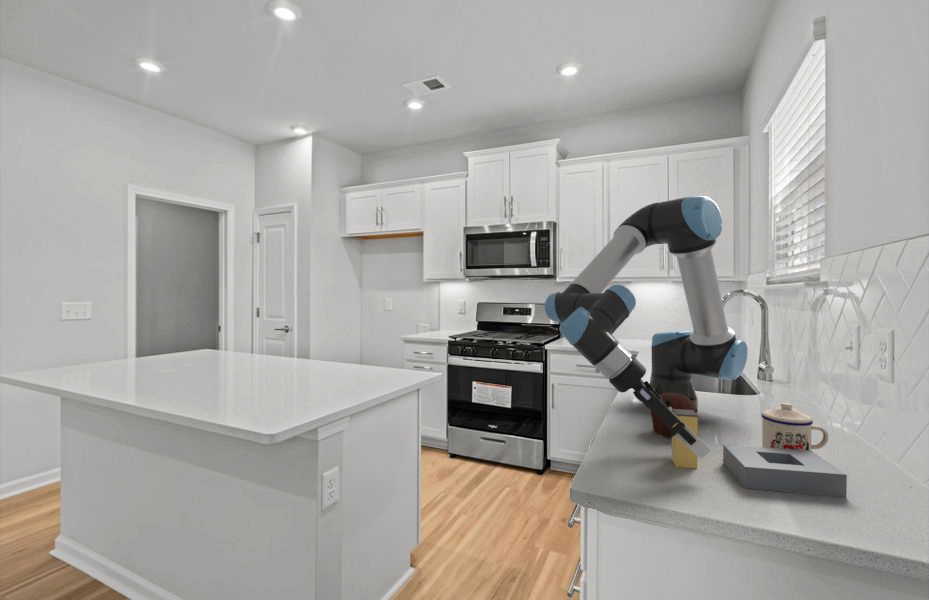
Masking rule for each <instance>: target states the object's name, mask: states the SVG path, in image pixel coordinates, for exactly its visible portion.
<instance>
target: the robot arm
mask: <svg viewBox="0 0 929 600" xmlns="http://www.w3.org/2000/svg"><path fill="white" fill-rule="evenodd" d="M722 225H723V218H722V213H721V210H720V208H719V207H718V204H717V203H716V202H715V200H713V199H711V198H710V197H708V196H706V195H697V196H686V197H681V198H675V199H672V200H666V201H660V202H653V203H650V204H648V205H645V206H643V207H641V208H639V209H637V210H636V211H635V212H634V213H632V214H631V215H629V216H628V217H626V219H625V220H623V222H622V223H621V224H619V226H618V227H617V228H616V229H615V230H614V232H613V237H612V238H611V240H609V241H608V243H607V244H606V245H604V247H603V248H602V249H601V250H600V251H599V253H598V254H597V255H595V257H594V258H593V259H592V260H591V261H590V263H588V264H587V265H586V266H585V268H584V269H583V270H581V272H580V273H579V274H578V275H577V276H576V277H575V278H574V280H572V281H571V283H569V285H568V286H567V287H566V288H565V289H564V290H563V291H562V292H560V291H558V292H554V293H551V294H549V295H548V296H547V298H546V299H545V302H544V312H545V314H546V317H547V318H548V319H549V320H551V321H553V322H557V323H561V324H560V326H559V328H558V329H559V332H560V333H561V335H562V336H563V338H565V340H566V341H568V343H569V345H571V346H572V347H573V348H575V350H576V351H578V352H579V353H580V354H581V355H582V356H583V358H585V359H586V360H587V361H588V362H589V363H590V364H591V365H592V366H593V368H594V372H595V373H596V374H598V373H601V375H602V376H603V377H604V378H605V379H608V381H609V383H610V385H612V386H613V387H614V389H616V390H617V391H618V392H619V393H626V392H628V391H629V390H630V389H632V390H633V392H632V394H633V395H634V397H635V398H636V399H637V400H638V401H640V402H641V403H642V404H643V405H644V406H645V407H646V408H647V409H648V410H650V411H651V410H652V411H653V412H654V413H655V414H656V415H657V416H658V417H659V418H660V419H661V420H662V421H663V422H664V424H665V425H666V426H667V427H668V428H669V429H670V430H671V431H672V432H671V433H670V435H671V436H672V437H674V436H675V435H676V436H677V437H678V438H679V439H680V440H681V441H682V442H683V443H684V444H685V445H686V446H687V447H688V448H689V449H690V450H691V451H692V452H694V453H695V454H696V455H697V458H699V460H702V459H703V458H704V457H705V456H707V455H708V454H709V453H710V452H711V451H712V449H711V448H710V447H709V446H708V445H707V444H706V443H705V442H704V441H703V440H702V439H701V438H699V436H698V437H697V436H696V435H695V434H694V433H693V432H692V431H691V430H690V429H689V428H688V427H687V426H686V425H685V424H684V423H683V422H681V421H680V420H679V419H678V418H677V417H676V416H675V415H674V414H673V413H672V408H671V407H668V406H669V405H670V404H671V403H670V402H669V401H668V400H667V401H666V402H664V400H663V399H662V398H661V397H660V396H659V395H660V394H663V393H678V394H682V395H684V396H686V397H688V398H689V399H690V400H692V402H693V403H694V405H695V406H696V408H697V409H698V406H699V400H698V399H699V398H698V396H697V392H696V390H695V387H694V383H693V379H692V377H693V375H695V376H701V377H702V376H703V377H707V378H714V379H718V380H731V381H732V380H736V379H738V378H739V377H740V376H741V375H742V374H743V372H744V369H745V368H746V364H747V361H748V346H747V343H746V341H744V340H742V339H739V338H738V339H737V337H736V333H735V330H734V329H733V328H732V327H730V326H728V324H727V319H726V314H725V310H724V305H723V300H722V294H721V291H720V285H719V281H718V276H717V271H716V266H715V261H714V258H713V257H714V256H713V251H712V249H713V247H715V245H716V243H717V238H718V237H720V235H721V233H722V230H723V226H722ZM663 244H664V245H665V244H667V247H668V251H669V253H670V254H671V255H672V256H675V257H676V259H677V264H678V268H679V273H680V278H681V281H682V285H683V290H684V294H685V300H686V302H687V303H686V304H687V309H688V312H689V317H690V321H691V325H692V329H693V331H692V330H681V331H680V330H679V331H678V330H676V331H666V332H665V331H663V332H657V333H654V334H653V335H652V338H651V347H650V349H651V379H650V381H647V380H645V381H643V378H644V376H645V375H646V373H647V368H646V367H645V366H644V365H643V364H642V363H641V362H640V361H639V360H638V358H636V357H632V356H633V355H632V353H631V352H630V351H629V350H628V349H627V348H626V347H625V346H624V345H623V343H621V342H620V341H619V340H618V339H616V338H615V337H614V335H613V334H614V333H615V332H616V331H617V329H618V328H619V327H620V326H621V325H622V324H623V323H624V322H625V320H627V319H628V318H629V317H630V314H631V313H632V312H633V310H634V309H635V307H636V305H637V301H636V297H635V295H634V293H633V291H631V290H630V288H628V287H626V286H624V285H621V284H613V285H612V286H609V285H610V284H611V283H612V282H613V280H614V279H615V278H616V277H617V276H618V275H619V273H620V272H621V271H622V270H623V269H624V267H626V265H627V264H628V263H629V262H630V261H631V259H632V258H633V257H634V256H635V255H638V254H641V253H642V252H643V251H644V250H645V249H646V248H648V247H650V246H654V245H663ZM608 286H609V287H608ZM607 287H608V288H607ZM667 407H668V408H667ZM676 423H678V424H677V425H676V426H674V425H675V424H676ZM673 426H674V427H673Z"/></svg>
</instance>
